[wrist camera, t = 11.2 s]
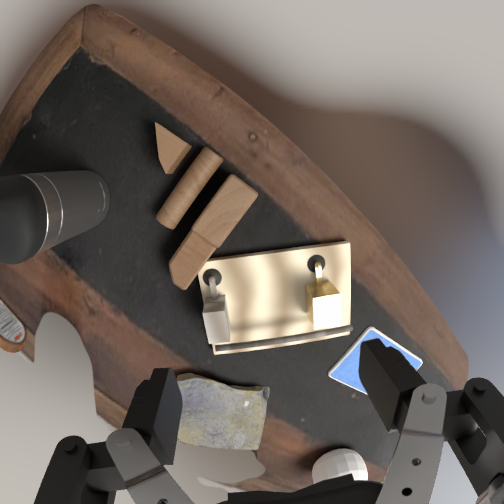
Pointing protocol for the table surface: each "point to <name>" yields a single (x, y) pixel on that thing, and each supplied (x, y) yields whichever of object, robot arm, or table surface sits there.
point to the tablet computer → (349, 361)
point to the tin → (11, 330)
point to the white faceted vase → (339, 465)
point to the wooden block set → (213, 216)
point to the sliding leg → (322, 302)
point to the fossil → (221, 413)
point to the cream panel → (271, 296)
